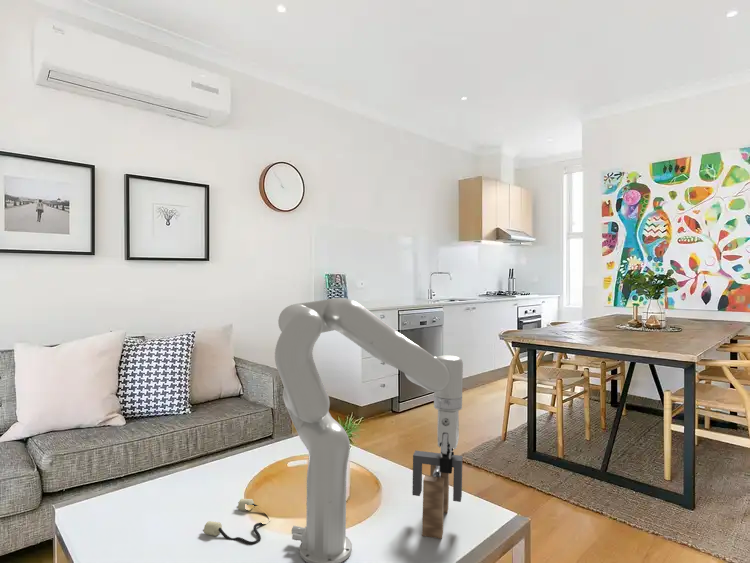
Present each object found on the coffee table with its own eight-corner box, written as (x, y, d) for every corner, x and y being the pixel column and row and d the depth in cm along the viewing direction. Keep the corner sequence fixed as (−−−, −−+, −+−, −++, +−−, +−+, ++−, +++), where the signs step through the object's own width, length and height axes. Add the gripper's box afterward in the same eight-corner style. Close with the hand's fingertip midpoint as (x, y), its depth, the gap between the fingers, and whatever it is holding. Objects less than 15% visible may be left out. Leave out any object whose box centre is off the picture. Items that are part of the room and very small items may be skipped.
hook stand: (422, 535, 120) (423, 480, 120) (431, 505, 135) (432, 456, 135) (441, 538, 119) (442, 482, 118) (448, 507, 134) (449, 458, 134)
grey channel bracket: (412, 495, 127) (413, 455, 127) (414, 489, 130) (415, 450, 130) (460, 501, 124) (461, 461, 123) (461, 495, 127) (462, 455, 127)
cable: (287, 517, 129) (288, 505, 128) (251, 550, 113) (251, 537, 113) (241, 505, 134) (241, 494, 134) (200, 536, 119) (201, 522, 119)
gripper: (459, 412, 116) (458, 484, 117) (464, 395, 132) (463, 458, 133) (429, 409, 118) (428, 480, 119) (437, 392, 134) (436, 455, 135)
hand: (446, 468), depth 126 cm, fingers closed on grey channel bracket, 3 cm apart
